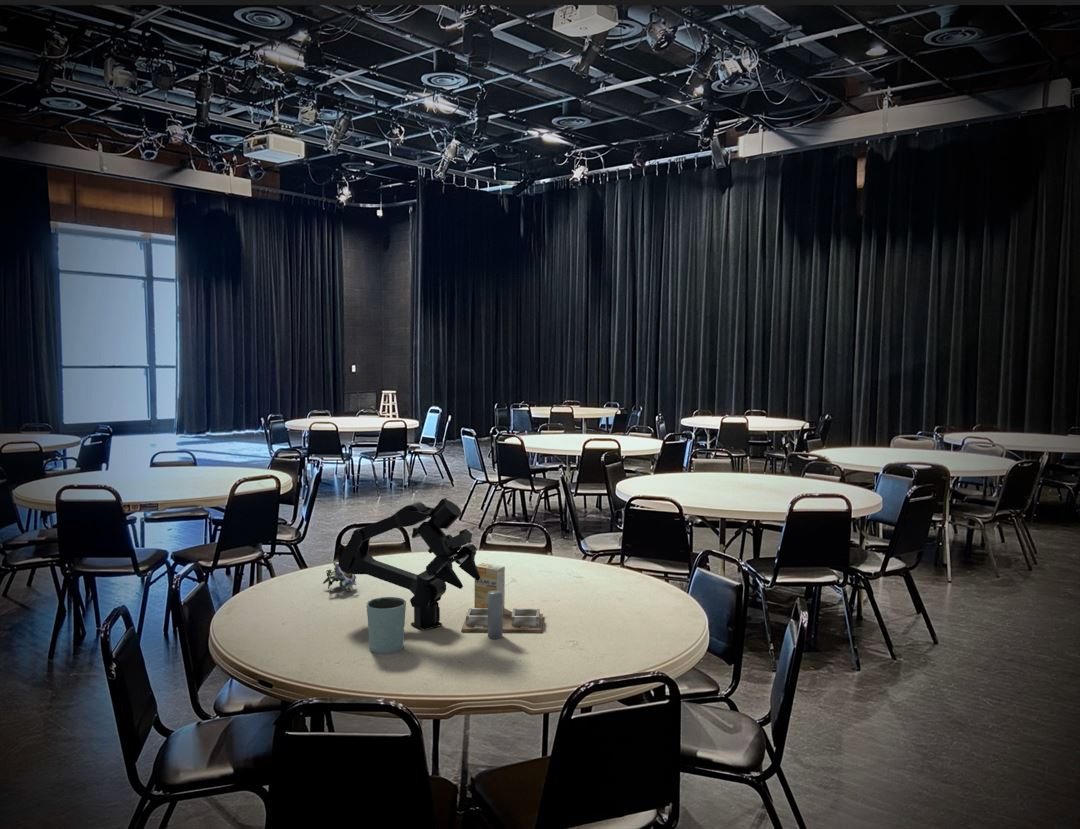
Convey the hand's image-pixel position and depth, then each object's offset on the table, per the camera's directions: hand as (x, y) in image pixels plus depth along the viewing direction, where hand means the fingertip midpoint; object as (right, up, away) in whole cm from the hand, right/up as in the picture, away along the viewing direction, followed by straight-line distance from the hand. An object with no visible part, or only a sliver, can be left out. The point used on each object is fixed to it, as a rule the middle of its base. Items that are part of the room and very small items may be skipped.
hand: (470, 583), depth 215 cm
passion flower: (-47, -12, +43) cm, 64 cm away
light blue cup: (-21, -14, -11) cm, 28 cm away
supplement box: (+4, -13, +23) cm, 26 cm away
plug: (+7, -14, -3) cm, 16 cm away
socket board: (+9, -13, +8) cm, 18 cm away
